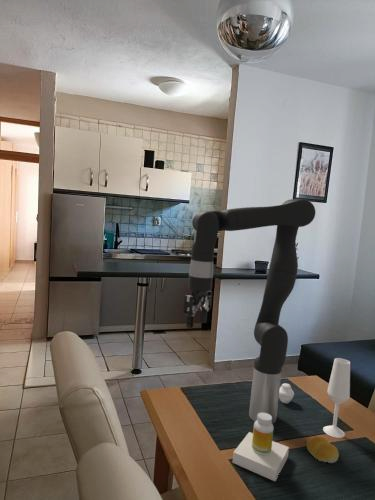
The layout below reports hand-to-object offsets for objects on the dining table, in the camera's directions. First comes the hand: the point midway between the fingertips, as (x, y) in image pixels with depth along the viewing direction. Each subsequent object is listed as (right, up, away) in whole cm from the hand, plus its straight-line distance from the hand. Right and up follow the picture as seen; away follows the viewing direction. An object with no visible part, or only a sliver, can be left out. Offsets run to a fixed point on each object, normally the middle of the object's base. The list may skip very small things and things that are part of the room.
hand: (196, 324), depth 115 cm
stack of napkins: (+18, -35, -14) cm, 42 cm away
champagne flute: (+45, -36, +3) cm, 58 cm away
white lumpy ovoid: (+34, -34, +22) cm, 52 cm away
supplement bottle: (+18, -32, -14) cm, 39 cm away
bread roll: (+37, -37, -9) cm, 52 cm away
